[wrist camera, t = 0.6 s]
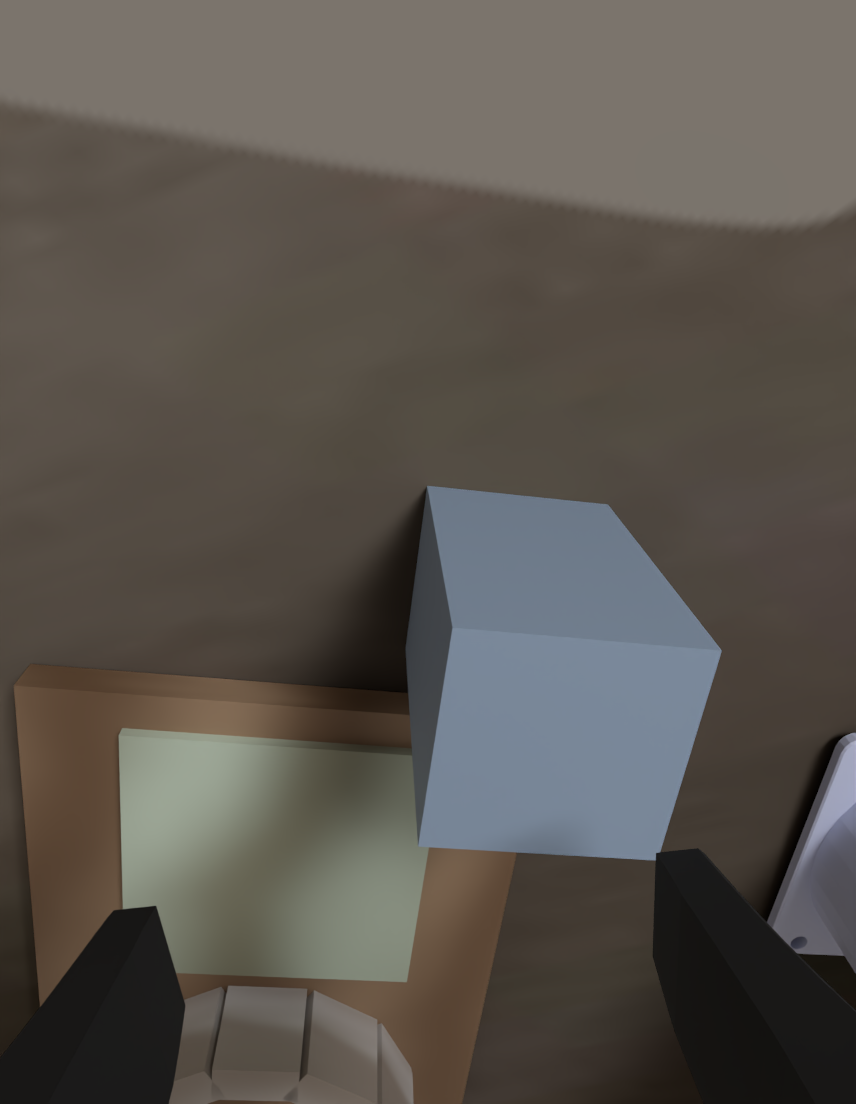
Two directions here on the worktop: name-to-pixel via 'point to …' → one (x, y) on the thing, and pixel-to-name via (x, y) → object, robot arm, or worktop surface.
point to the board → (262, 878)
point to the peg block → (547, 680)
